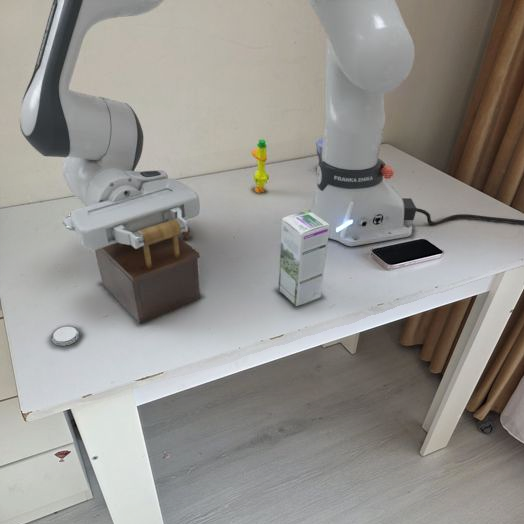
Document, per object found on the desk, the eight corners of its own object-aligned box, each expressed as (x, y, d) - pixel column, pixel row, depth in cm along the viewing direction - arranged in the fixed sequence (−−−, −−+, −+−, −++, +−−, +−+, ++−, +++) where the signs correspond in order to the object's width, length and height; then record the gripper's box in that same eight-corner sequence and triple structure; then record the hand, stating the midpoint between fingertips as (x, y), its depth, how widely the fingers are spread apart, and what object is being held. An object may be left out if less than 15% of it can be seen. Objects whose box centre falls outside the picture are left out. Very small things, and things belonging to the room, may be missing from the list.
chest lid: (200, 257, 78) (197, 217, 74) (134, 282, 73) (126, 241, 68) (155, 222, 87) (149, 184, 82) (92, 242, 81) (83, 203, 76)
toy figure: (246, 186, 118) (246, 135, 110) (259, 183, 119) (261, 133, 111) (258, 197, 114) (260, 145, 105) (272, 194, 115) (274, 143, 107)
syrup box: (322, 297, 86) (332, 223, 76) (294, 308, 83) (302, 232, 73) (303, 281, 89) (310, 208, 79) (276, 291, 87) (280, 216, 77)
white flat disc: (54, 348, 74) (53, 345, 74) (50, 332, 77) (49, 329, 76) (81, 341, 76) (80, 338, 75) (76, 326, 78) (75, 323, 78)
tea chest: (200, 297, 85) (197, 256, 79) (139, 323, 79) (131, 281, 74) (160, 262, 93) (155, 222, 87) (102, 284, 87) (92, 242, 81)
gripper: (52, 199, 73) (92, 237, 65) (171, 167, 82) (217, 197, 75) (63, 236, 77) (101, 276, 69) (174, 202, 87) (219, 234, 79)
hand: (162, 235), depth 72 cm, fingers closed on chest lid, 6 cm apart
